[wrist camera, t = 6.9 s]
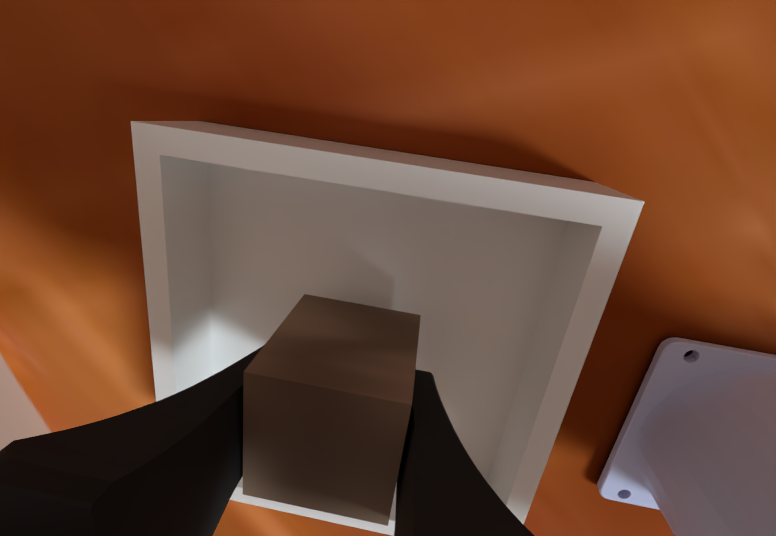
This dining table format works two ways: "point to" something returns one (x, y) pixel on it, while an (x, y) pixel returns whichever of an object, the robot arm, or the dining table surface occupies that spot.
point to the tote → (382, 273)
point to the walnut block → (330, 408)
